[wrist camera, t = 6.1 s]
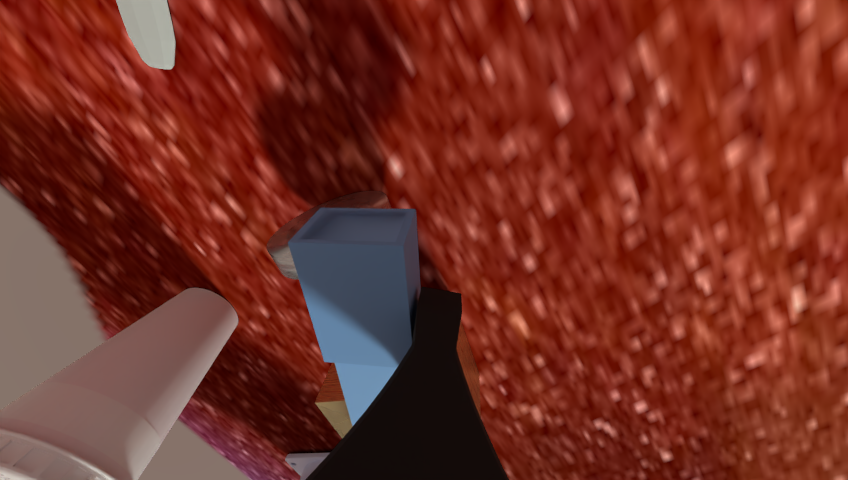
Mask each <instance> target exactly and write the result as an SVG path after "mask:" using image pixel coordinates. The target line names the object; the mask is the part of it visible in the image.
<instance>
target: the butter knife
mask: <svg viewBox="0 0 848 480" xmlns="http://www.w3.org/2000/svg"><path fill="white" fill-rule="evenodd" d="M116 2H117V5H118V8H119V11H120V14H121V17H122V19H123V22H124V25H125V27H126V30H127V33H128V35H129V37H130V39H131V41H132V42H133V44H134V46H135V48H136V49H137V51H138V53H139V55H140V56H141V58H142V60H143V61H144V62H145V63H146V64H147V65H149V66H151V67H154V68H159V69H172V68H173V66H174V65H175V43H176V42H175V36H174V31H173V25H172V20H171V16H170V12H169V7H168V3H167V0H116Z"/></svg>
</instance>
